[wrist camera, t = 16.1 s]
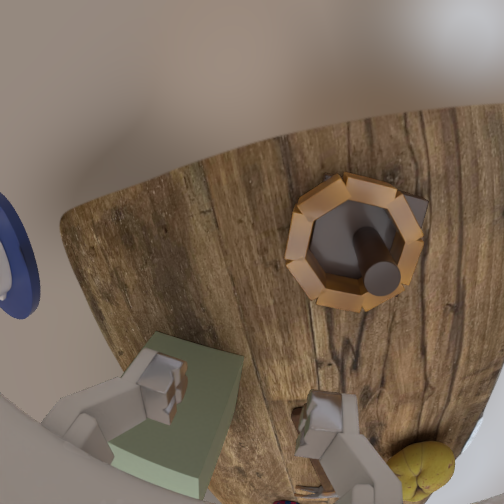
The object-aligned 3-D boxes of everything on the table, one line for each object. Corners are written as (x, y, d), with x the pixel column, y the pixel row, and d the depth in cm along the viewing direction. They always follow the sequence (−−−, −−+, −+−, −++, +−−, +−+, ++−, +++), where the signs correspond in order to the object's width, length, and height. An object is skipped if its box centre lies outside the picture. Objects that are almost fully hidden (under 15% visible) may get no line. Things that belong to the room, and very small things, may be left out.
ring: (280, 280, 26) (275, 296, 24) (302, 162, 22) (300, 166, 19) (389, 302, 25) (395, 319, 22) (424, 192, 21) (436, 200, 18)
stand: (303, 270, 27) (295, 325, 19) (324, 172, 23) (328, 190, 16) (394, 289, 26) (416, 346, 18) (423, 197, 22) (466, 227, 14)
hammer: (344, 414, 30) (360, 497, 38) (344, 397, 33) (360, 485, 41) (246, 422, 34) (297, 501, 42) (251, 407, 37) (299, 490, 45)
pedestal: (160, 387, 38) (109, 473, 24) (155, 330, 34) (82, 428, 19) (234, 410, 37) (199, 509, 22) (244, 356, 32) (198, 479, 18)
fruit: (440, 453, 34) (447, 498, 25) (377, 466, 38) (378, 514, 28) (454, 419, 31) (467, 472, 22) (381, 436, 34) (384, 493, 25)
